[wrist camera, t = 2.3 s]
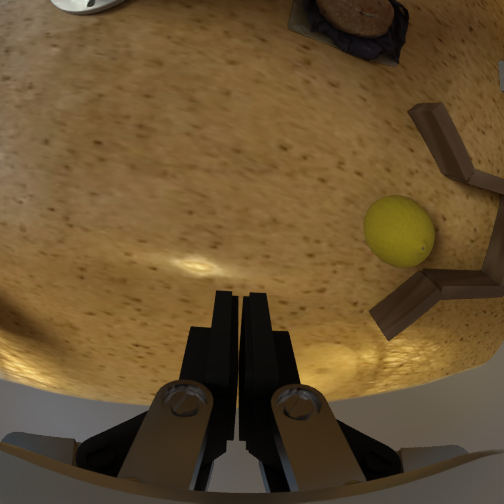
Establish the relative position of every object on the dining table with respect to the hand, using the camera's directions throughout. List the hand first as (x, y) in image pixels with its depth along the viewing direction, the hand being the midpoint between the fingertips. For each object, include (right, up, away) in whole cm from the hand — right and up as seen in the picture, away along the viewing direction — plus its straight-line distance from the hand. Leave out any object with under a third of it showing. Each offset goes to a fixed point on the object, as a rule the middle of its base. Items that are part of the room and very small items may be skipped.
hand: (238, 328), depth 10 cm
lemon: (+12, +6, +16) cm, 21 cm away
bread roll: (+9, +23, +9) cm, 27 cm away
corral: (+22, +5, +17) cm, 28 cm away
